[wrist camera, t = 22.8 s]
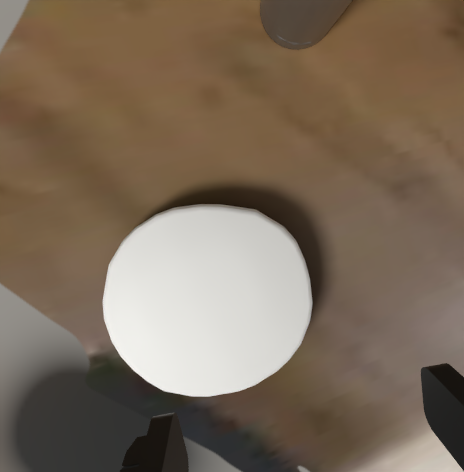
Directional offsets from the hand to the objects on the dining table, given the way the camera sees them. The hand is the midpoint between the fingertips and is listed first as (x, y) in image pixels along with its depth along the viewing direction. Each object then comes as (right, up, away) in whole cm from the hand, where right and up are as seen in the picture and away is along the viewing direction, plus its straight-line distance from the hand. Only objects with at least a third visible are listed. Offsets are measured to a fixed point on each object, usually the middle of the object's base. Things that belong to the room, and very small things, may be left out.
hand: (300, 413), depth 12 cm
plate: (-6, -2, +39) cm, 40 cm away
